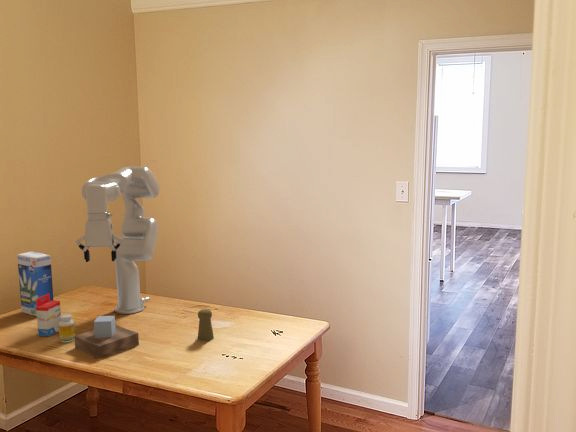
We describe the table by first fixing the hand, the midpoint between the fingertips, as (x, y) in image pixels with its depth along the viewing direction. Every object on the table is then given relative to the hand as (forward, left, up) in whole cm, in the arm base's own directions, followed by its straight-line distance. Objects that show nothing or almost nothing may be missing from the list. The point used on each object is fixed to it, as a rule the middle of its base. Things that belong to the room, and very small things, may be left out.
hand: (100, 260), depth 218 cm
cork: (-20, +36, -28) cm, 50 cm away
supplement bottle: (+14, -3, -28) cm, 32 cm away
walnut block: (+8, +14, -29) cm, 33 cm away
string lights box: (+5, -44, -28) cm, 53 cm away
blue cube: (+8, +14, -24) cm, 29 cm away
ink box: (+14, -16, -28) cm, 36 cm away
